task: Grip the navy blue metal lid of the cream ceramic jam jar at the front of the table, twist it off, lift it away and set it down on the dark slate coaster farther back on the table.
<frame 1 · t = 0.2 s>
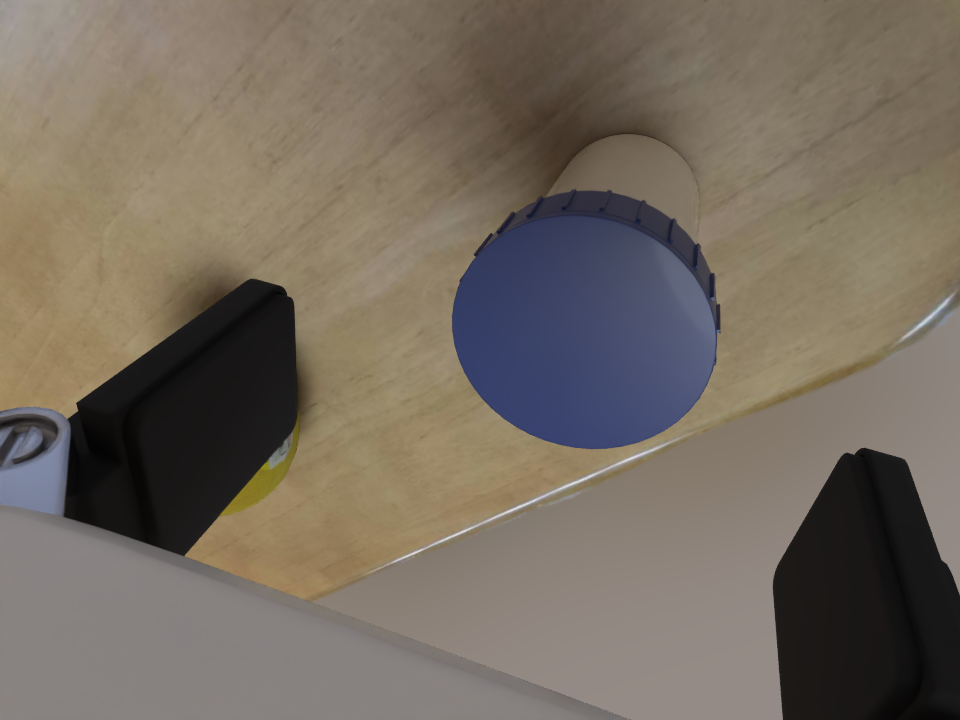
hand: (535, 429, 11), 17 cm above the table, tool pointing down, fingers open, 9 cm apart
lemon: (265, 379, 37), on the table
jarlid: (578, 337, 17), point 11 cm above the table, screwed on, not yet turned
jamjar: (624, 206, 26), on the table
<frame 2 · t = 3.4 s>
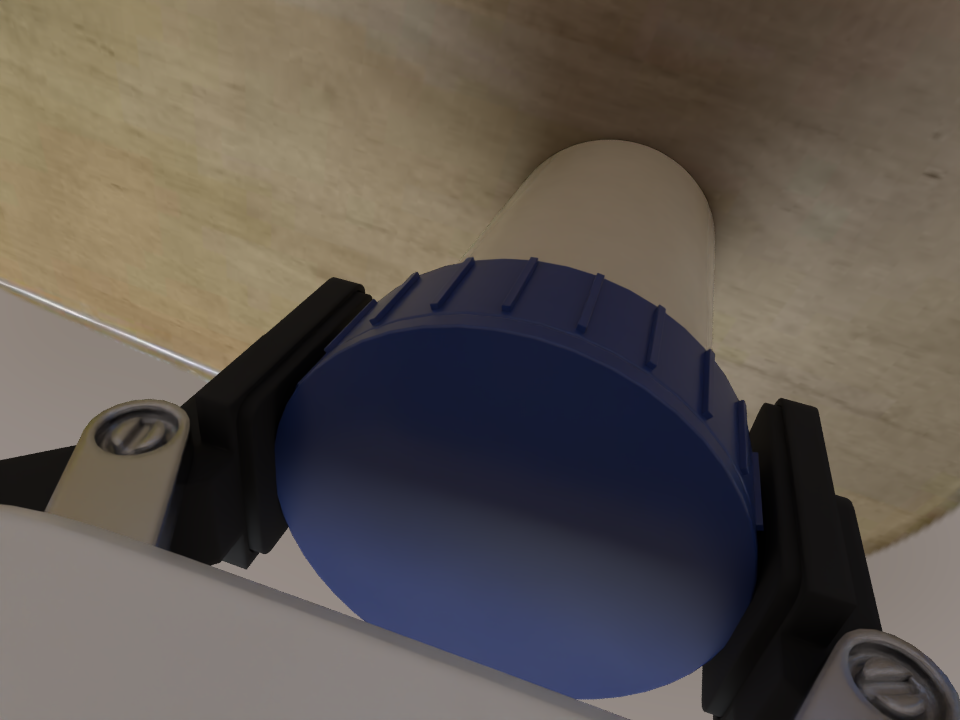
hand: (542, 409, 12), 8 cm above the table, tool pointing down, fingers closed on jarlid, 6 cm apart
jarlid: (498, 527, 9), point 11 cm above the table, screwed on, not yet turned, touching gripper
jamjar: (606, 243, 18), on the table
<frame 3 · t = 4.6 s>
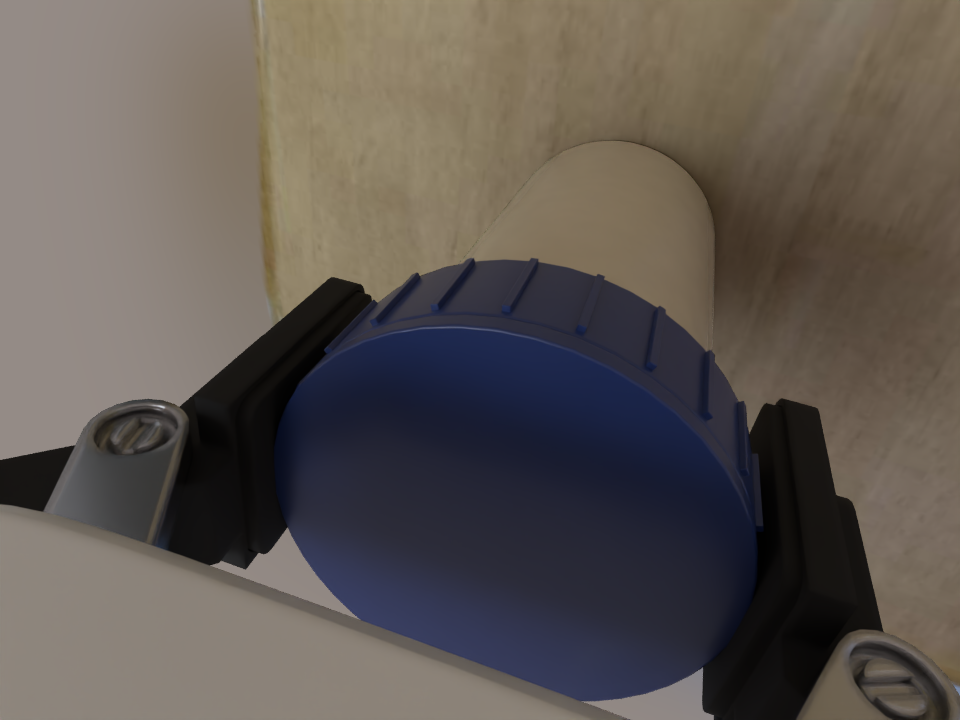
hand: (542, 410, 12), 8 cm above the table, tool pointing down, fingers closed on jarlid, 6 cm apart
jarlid: (497, 528, 9), point 11 cm above the table, turned 82° so far, risen 0.2 cm, still on its thread, touching gripper
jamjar: (607, 243, 18), on the table
when the fingers open (7 cm above the table, at t = 5.7 s): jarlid stays where it is, point 11 cm above the table.
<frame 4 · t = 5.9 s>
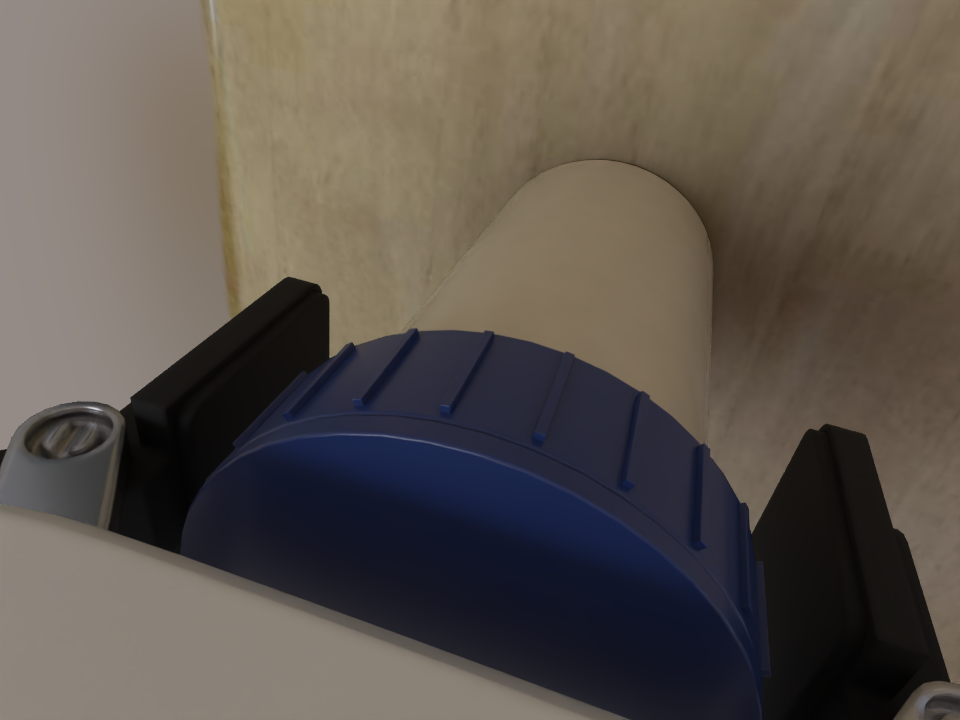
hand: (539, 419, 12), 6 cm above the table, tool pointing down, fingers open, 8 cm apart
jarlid: (449, 651, 8), point 11 cm above the table, turned 82° so far, risen 0.2 cm, still on its thread
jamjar: (595, 270, 17), on the table
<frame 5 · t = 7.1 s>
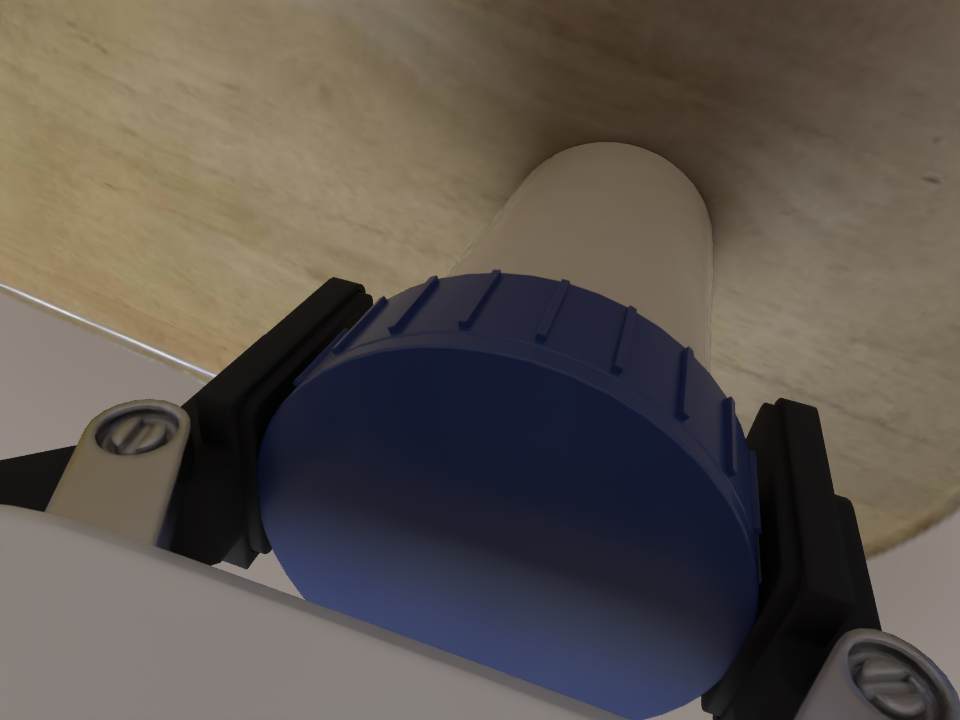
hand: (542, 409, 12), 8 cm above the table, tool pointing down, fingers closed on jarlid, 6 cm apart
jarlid: (488, 551, 9), point 11 cm above the table, turned 82° so far, risen 0.2 cm, still on its thread, touching gripper
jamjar: (603, 246, 18), on the table
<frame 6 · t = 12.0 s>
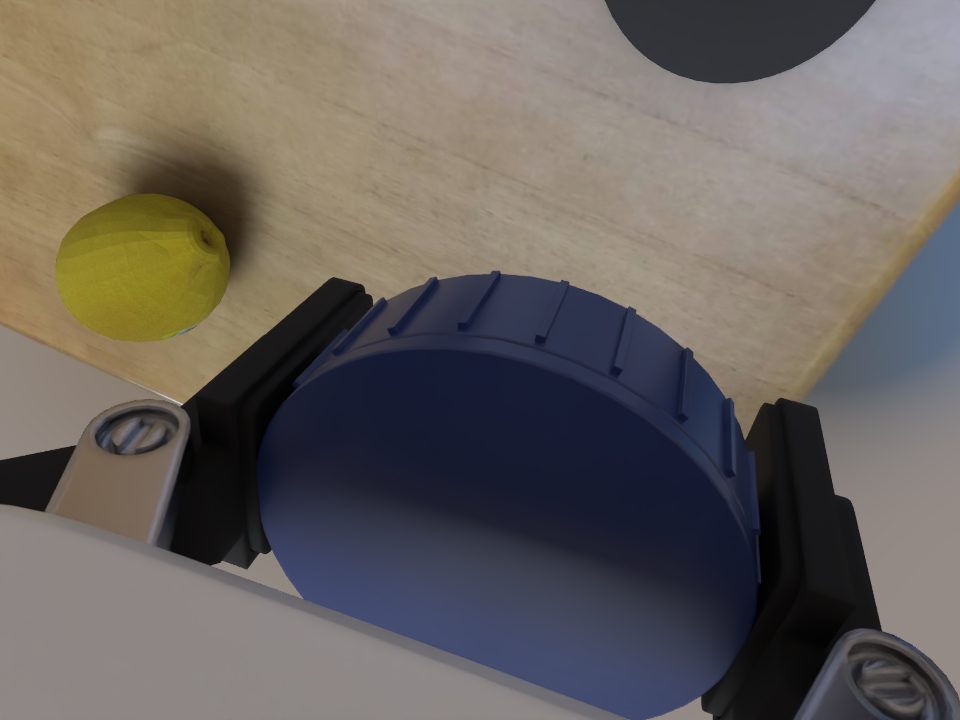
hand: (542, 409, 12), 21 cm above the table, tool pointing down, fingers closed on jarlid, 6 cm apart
lemon: (198, 241, 40), on the table
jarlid: (488, 552, 9), point 25 cm above the table, off its thread, touching gripper
when the fingers open (2 cm above the table, at t = 17.3 s): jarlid drops 3 cm, resting on coaster.
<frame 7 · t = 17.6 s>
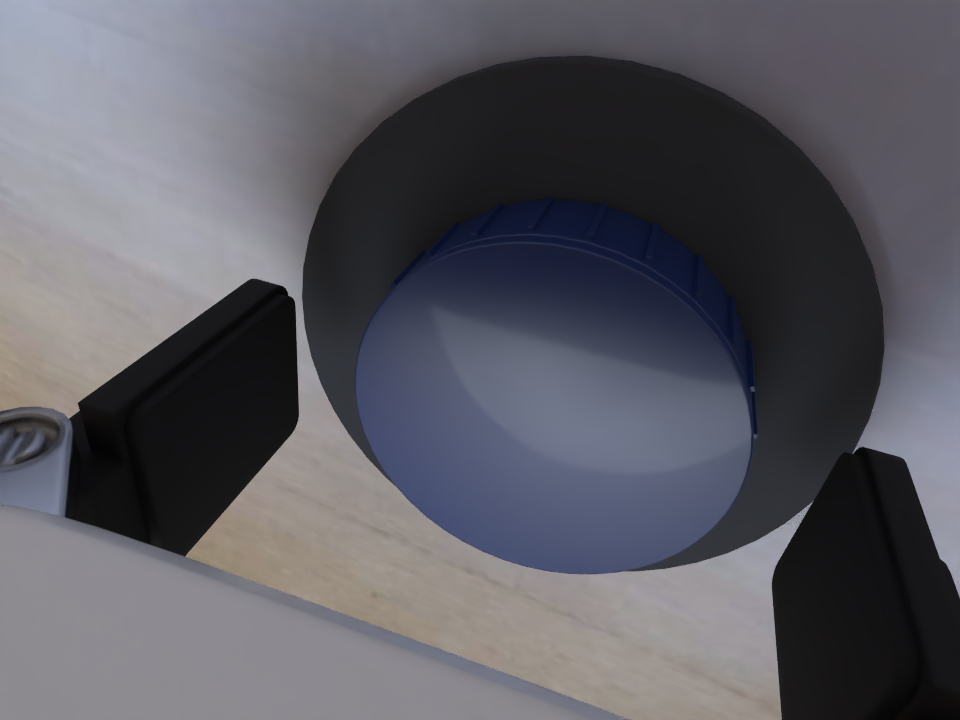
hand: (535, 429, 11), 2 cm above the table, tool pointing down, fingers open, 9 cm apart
coaster: (562, 355, 13), on the table
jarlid: (541, 421, 12), point 2 cm above the table, off its thread, touching coaster
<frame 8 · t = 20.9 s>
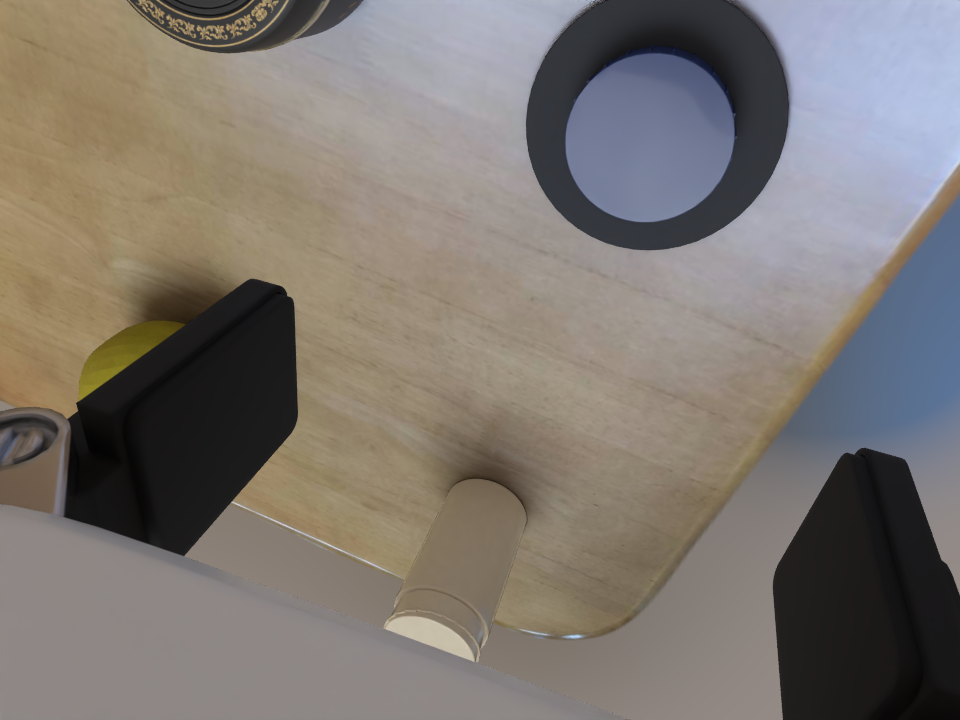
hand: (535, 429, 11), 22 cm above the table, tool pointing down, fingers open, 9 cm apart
coaster: (650, 128, 29), on the table
lemon: (203, 351, 45), on the table
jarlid: (647, 141, 28), point 2 cm above the table, off its thread, touching coaster
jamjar: (486, 510, 45), on the table
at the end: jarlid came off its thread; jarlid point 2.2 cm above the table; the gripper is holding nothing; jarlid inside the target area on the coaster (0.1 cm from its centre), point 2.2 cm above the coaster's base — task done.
